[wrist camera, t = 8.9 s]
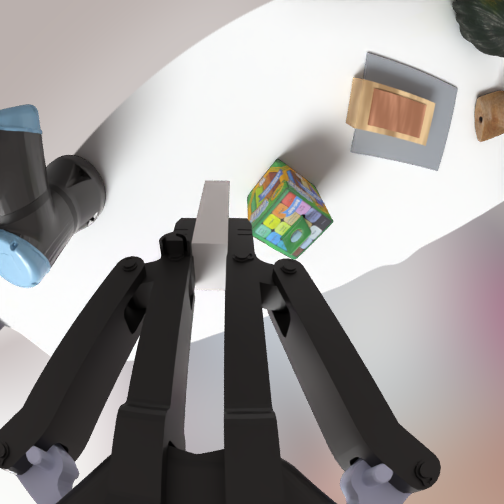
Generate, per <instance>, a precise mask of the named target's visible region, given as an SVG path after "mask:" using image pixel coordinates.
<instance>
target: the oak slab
mask: <svg viewBox="0 0 504 504" xmlns="http://www.w3.org/2000/svg"><path fill="white" fill-rule="evenodd" d="M434 108H435V103H434V102H431V101H429V100H426V99H424V98H421V97H418V96H416V95H413V94H410V93H407V92H404V91H402V90H399V89H396V88H392V87H389V86H386V85H383V84H379V83H376V82H372V81H369V80H365V79H360V78H354V77H353V82H352V89H351V95H350V101H349V107H348V113H347V119H346V123H347V124H349V125H350V126H352V127H353V128H356V129H361V130H366V131H370V132H375V133H379V134H383V135H388V136H392V137H396V138H399V139H403V140H407V141H411V142H414V143H418V144H421V145H424V146H426V143H427V139H428V135H429V131H430V126H431V122H432V118H433V113H434Z"/></svg>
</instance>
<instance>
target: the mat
mask: <svg viewBox="0 0 504 504" xmlns="http://www.w3.org/2000/svg"><path fill="white" fill-rule="evenodd" d="M363 79H365V80H369V81H372V82H376V83H379V84H383V85H386V86H389V87H392V88H396V89H399V90H402V91H404V92H407V93H410V94H413V95H416V96H418V97H421V98H424V99H426V100H429V101H431V102H434V103H435V108H434V113H433V118H432V122H431V126H430V131H429V135H428V139H427V143H426V146H424V145H421V144H418V143H414V142H411V141H407V140H403V139H399V138H396V137H392V136H388V135H383V134H379V133H375V132H370V131H366V130H361V129H356V128H355V132H354V137H353V142H352V147H351V152H352V153H358V154H364V155H369V156H374V157H380V158H385V159H389V160H394V161H399V162H403V163H408V164H412V165H416V166H420V167H424V168H428V169H432V170H436V171H438V169H439V165H440V162H441V158H442V155H443V151H444V148H445V144H446V140H447V136H448V132H449V128H450V124H451V119H452V115H453V110H454V105H455V99H456V94H457V88H456V87H454V86H452V85H450V84H448V83H446V82H443V81H441V80H439V79H437V78H435V77H433V76H430V75H428V74H426V73H423V72H421V71H419V70H416V69H414V68H411V67H409V66H406V65H403V64H401V63H398V62H395V61H392V60H389V59H386V58H383V57H380V56H377V55H374V54H370V53H367V56H366V64H365V71H364V78H363Z"/></svg>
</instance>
